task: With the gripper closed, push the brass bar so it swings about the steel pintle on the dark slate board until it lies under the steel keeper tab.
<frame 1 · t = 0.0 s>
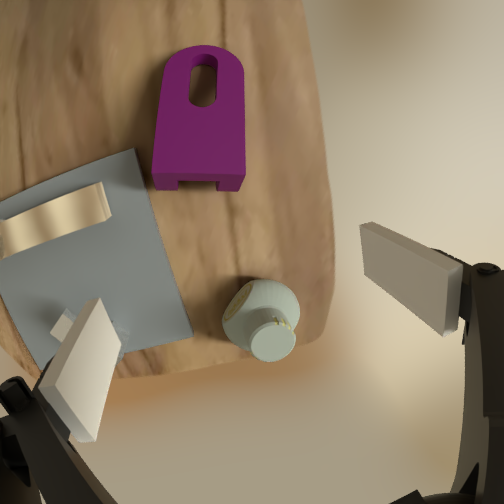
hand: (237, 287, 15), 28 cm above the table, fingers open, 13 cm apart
air freshener: (256, 306, 47), on the table
steel keeper: (116, 330, 44), resting on slate board
mounting bracket: (200, 116, 38), on the table
brass bar: (36, 225, 35), point 3 cm above the table, hinge at 90.0°
slate board: (74, 273, 41), on the table
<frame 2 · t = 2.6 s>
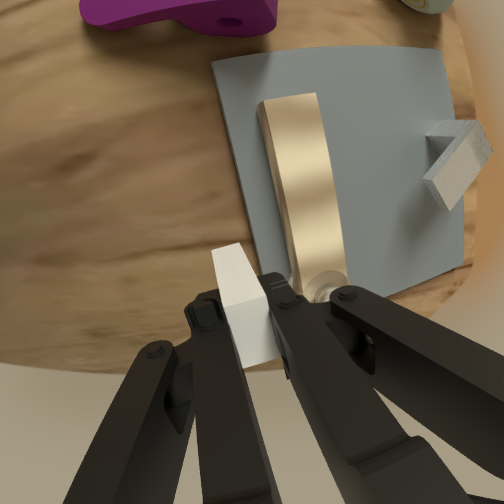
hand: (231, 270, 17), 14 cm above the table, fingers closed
pintle: (309, 275, 34), resting on slate board
steel keeper: (432, 140, 32), resting on slate board
brass bar: (308, 212, 29), point 4 cm above the table, hinge at 90.0°
slate board: (367, 176, 32), on the table
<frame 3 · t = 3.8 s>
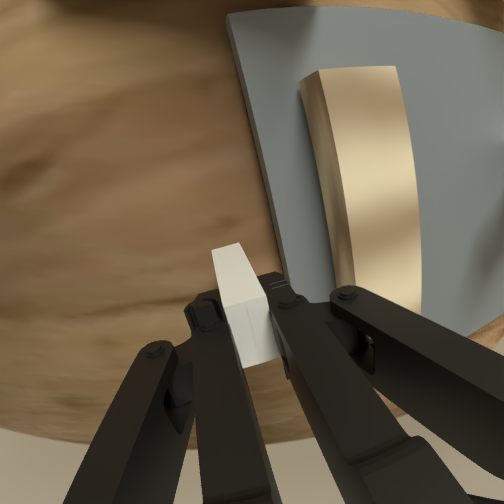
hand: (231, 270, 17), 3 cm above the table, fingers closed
brass bar: (376, 252, 18), point 4 cm above the table, hinge at 90.0°
slate board: (440, 194, 22), on the table
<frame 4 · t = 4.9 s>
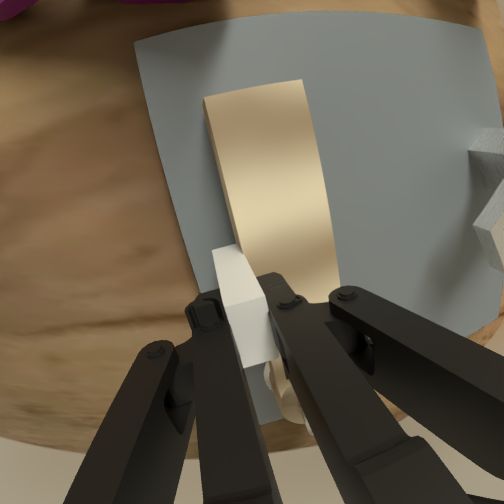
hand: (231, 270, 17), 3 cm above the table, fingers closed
steel keeper: (473, 156, 21), resting on slate board
brass bar: (291, 283, 18), point 4 cm above the table, hinge at 89.9°, touching gripper
slate board: (385, 212, 21), on the table
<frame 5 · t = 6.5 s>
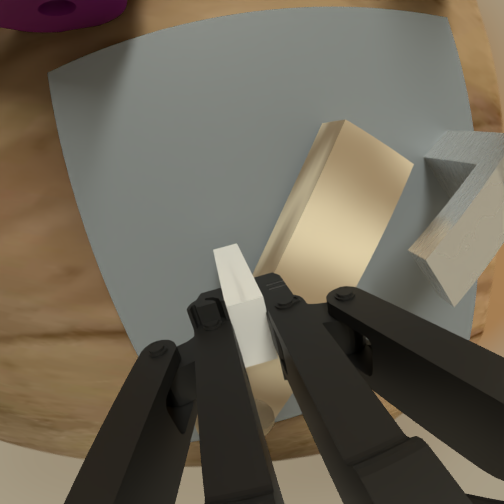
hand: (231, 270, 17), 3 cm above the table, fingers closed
steel keeper: (435, 163, 20), resting on slate board
brass bar: (286, 312, 18), point 4 cm above the table, hinge at 52.4°, touching gripper
slate board: (319, 230, 20), on the table
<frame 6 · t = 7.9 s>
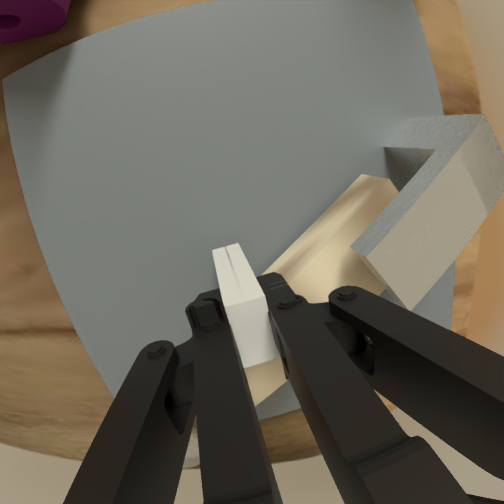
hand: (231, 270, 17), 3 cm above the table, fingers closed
pintle: (180, 377, 22), resting on slate board
steel keeper: (401, 154, 20), resting on slate board
brass bar: (267, 335, 18), point 3 cm above the table, hinge at 31.3°, touching gripper
slate board: (268, 228, 20), on the table
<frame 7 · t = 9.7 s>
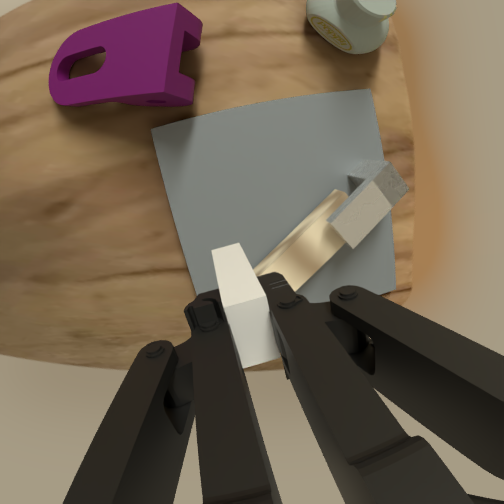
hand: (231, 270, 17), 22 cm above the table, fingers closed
air freshener: (339, 23, 33), on the table
steel keeper: (359, 177, 40), resting on slate board
mounting bracket: (122, 70, 32), on the table
brass bar: (289, 265, 38), point 4 cm above the table, hinge at 31.3°
slate board: (289, 214, 40), on the table
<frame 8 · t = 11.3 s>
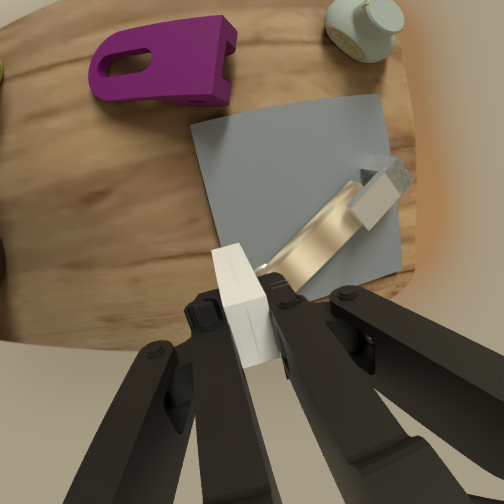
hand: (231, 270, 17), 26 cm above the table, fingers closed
air freshener: (351, 34, 38), on the table
steel keeper: (369, 170, 45), resting on slate board
mounting bracket: (159, 71, 36), on the table
brass bar: (312, 246, 43), point 4 cm above the table, hinge at 31.3°
slate board: (310, 203, 45), on the table
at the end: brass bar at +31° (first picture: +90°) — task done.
